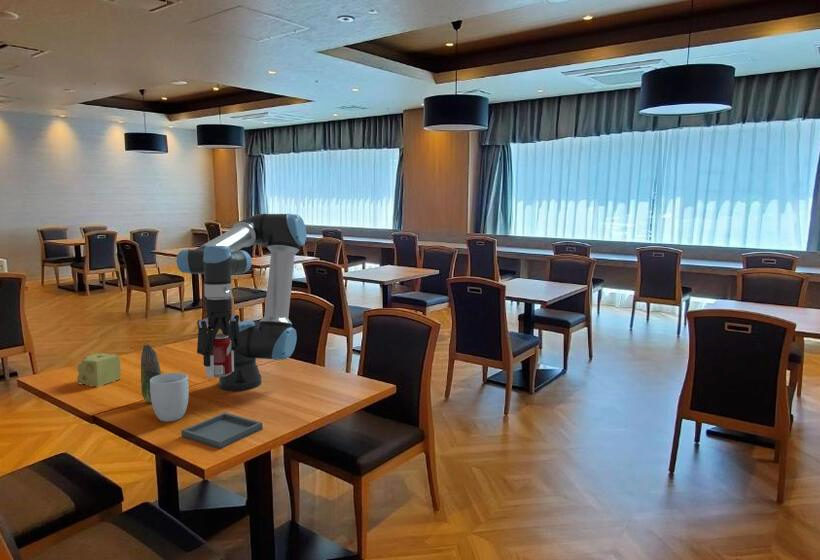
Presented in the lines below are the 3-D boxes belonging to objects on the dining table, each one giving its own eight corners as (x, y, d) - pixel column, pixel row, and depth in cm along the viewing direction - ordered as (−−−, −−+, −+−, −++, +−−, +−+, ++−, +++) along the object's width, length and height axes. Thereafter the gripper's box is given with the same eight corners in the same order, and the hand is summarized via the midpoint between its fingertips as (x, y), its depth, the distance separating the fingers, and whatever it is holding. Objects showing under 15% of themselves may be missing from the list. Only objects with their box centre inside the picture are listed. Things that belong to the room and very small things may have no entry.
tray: (181, 436, 163) (181, 430, 162) (225, 418, 176) (224, 412, 176) (220, 449, 155) (219, 442, 154) (262, 429, 168) (262, 422, 168)
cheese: (77, 384, 208) (75, 358, 207) (102, 376, 218) (101, 351, 217) (97, 388, 204) (95, 361, 203) (122, 379, 214) (120, 354, 213)
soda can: (224, 379, 165) (223, 338, 164) (203, 377, 166) (202, 337, 165) (236, 373, 172) (235, 334, 170) (216, 371, 173) (215, 333, 172)
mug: (140, 415, 179) (137, 375, 177) (173, 406, 187) (171, 367, 185) (162, 427, 169) (160, 385, 167) (196, 417, 178) (194, 377, 176)
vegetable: (142, 399, 193) (138, 342, 190) (162, 397, 195) (159, 341, 192) (142, 405, 187) (138, 347, 184) (162, 403, 190) (158, 345, 187)
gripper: (198, 302, 156) (200, 383, 159) (252, 295, 173) (253, 368, 175) (181, 300, 160) (183, 379, 162) (235, 293, 177) (237, 364, 179)
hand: (220, 373), depth 169 cm, fingers closed on soda can, 7 cm apart
